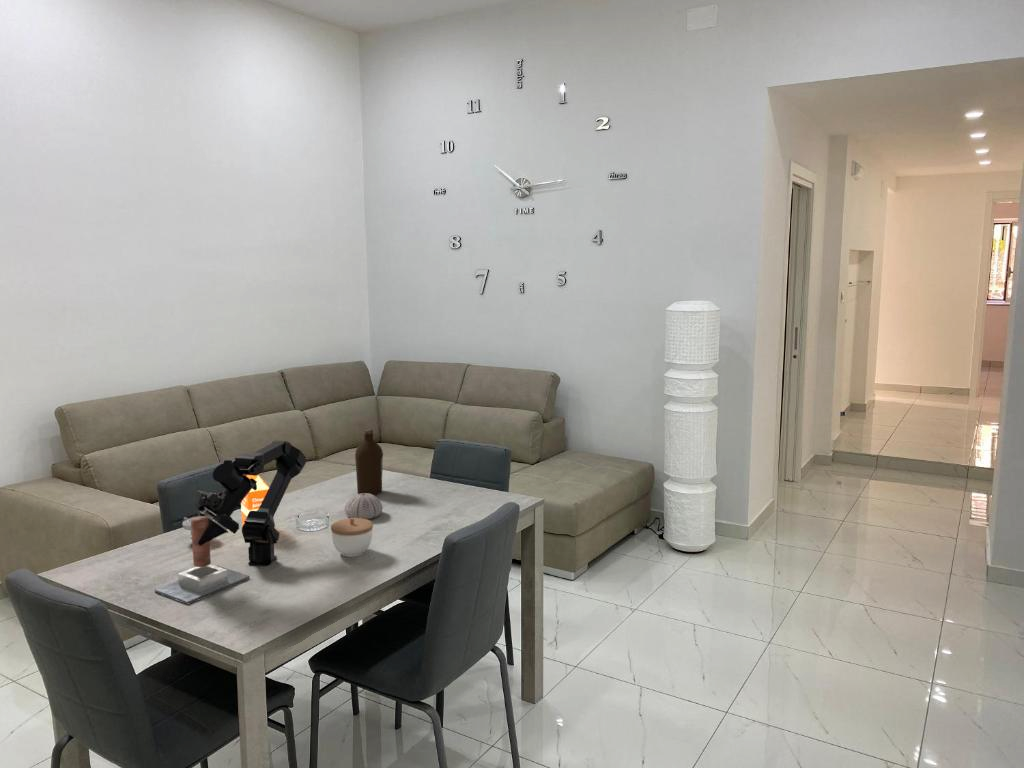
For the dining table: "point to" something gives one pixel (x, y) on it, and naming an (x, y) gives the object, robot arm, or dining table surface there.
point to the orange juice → (253, 497)
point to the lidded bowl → (352, 536)
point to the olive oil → (369, 465)
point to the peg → (199, 552)
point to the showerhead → (187, 524)
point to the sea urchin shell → (363, 506)
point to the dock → (201, 583)
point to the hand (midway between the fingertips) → (195, 542)
